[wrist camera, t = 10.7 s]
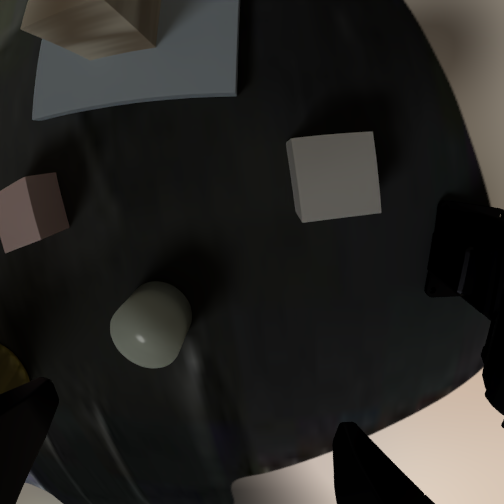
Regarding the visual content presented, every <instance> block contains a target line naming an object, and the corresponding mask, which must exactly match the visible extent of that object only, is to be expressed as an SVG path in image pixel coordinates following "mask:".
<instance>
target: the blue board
mask: <svg viewBox="0 0 504 504" xmlns="http://www.w3.org/2000/svg"><path fill="white" fill-rule="evenodd" d="M239 18H240V0H161V6H160V14H159V22H158V31H157V41H156V48H150V49H143V50H137V51H132V52H126V53H121V54H116V55H112V56H107V57H103V58H99V59H94V60H88V59H86V58H84V57H82V56H80V55H78V54H76V53H74V52H71V51H69V50H67V49H65V48H63V47H61V46H58V45H56V44H54V43H52V42H49V41H47V40H45V39H42V42H41V48H40V53H39V59H38V66H37V73H36V81H35V90H34V100H33V113H32V120H38V121H41V120H45V119H50V118H54V117H58V116H63V115H67V114H72V113H77V112H82V111H87V110H92V109H98V108H104V107H110V106H117V105H124V104H131V103H139V102H148V101H157V100H168V99H181V98H198V97H227V96H237V76H238V45H239Z"/></svg>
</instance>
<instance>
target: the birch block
mask: <svg viewBox="0 0 504 504" xmlns="http://www.w3.org/2000/svg"><path fill="white" fill-rule="evenodd" d="M160 6H161V0H28V4H27V7H26V10H25V14H24V18H23V22H22V26H21V30H23V31H26V32H28V33H30V34H33V35H35V36H38V37H40V38H42V39H45V40H47V41H49V42H52V43H54V44H56V45H58V46H61V47H63V48H65V49H67V50H69V51H71V52H74V53H76V54H78V55H80V56H82V57H84V58H86V59H88V60H94V59H99V58H103V57H107V56H112V55H116V54H121V53H126V52H132V51H137V50H143V49H150V48H156V41H157V31H158V22H159V14H160Z"/></svg>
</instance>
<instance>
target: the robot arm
mask: <svg viewBox="0 0 504 504" xmlns="http://www.w3.org/2000/svg"><path fill="white" fill-rule="evenodd" d="M445 205H446V211H445V212H444V210H443V208H444V206H445ZM500 214H501V217H500ZM427 269H428V274H427V279H426V284H425V290H424V291H425V293H426V294H427V295H428V296H429V297H450V296H461V297H462V298H463V299H464V300H466V301H467V302H468V303H469V304H470V305H472V306H473V307H474V308H475V309H476V310H478V311H479V312H481V313H482V314H483V315H485V316H486V317H487V318H488V319H489V320H490V321H491V324H490V328H489V333H488V336H487V340H486V344H485V346H484V347H483V349H482V353H481V357H482V360H483V363H484V367H483V374H482V376H483V380H484V385H485V388H486V392H485V397H486V398H487V399H488V401H489V402H490V404H491V405H492V406H493V407H494V408H495V409H496V410H498V411H499V412H500V413H501V414H502V415H504V210H503V209H500V208H494V207H488V206H481V205H474V204H467V203H460V202H453V201H445V200H443V201H441V202H439V204H438V207H437V215H436V223H435V231H434V233H433V237H432V244H431V250H430V256H429V262H428V268H427ZM432 287H433V290H432V291H430V289H431V288H432ZM58 403H59V398H58V395H57V392H56V390H55V387H54V384H53V382H52V381H51V380H50V379H47V378H44V377H39V378H37V379H35V380H32V381H30V382H28V383H25V384H23V385H21V386H19V387H16V388H14V389H11V390H9V391H7V392H4V393H2V394H0V504H16V501H17V499H18V497H19V494H20V492H21V490H22V487H23V485H24V483H25V480H26V478H27V476H28V474H29V472H30V469H31V467H32V465H33V463H34V461H35V459H36V457H37V455H38V452H39V450H40V448H41V446H42V444H43V442H44V440H45V438H46V435H47V433H48V430H49V427H50V425H51V422H52V419H53V417H54V414H55V412H56V409H57V406H58ZM501 426H502V427H503V428H504V421H503V422H502V425H501ZM333 465H334V488H335V495H336V501H337V504H435V503H434V502H433V501H431V500H430V499H429V498H428V497H427V496H426V495H424V493H423V492H422V491H421V490H420V489H419V488H418V487H417V486H416V485H415V484H414V483H413V482H412V481H411V480H410V479H409V478H408V477H407V476H406V475H405V474H404V473H403V472H402V471H401V470H400V469H399V468H398V467H397V466H396V465H395V464H394V463H393V462H392V461H391V460H390V459H389V458H388V457H387V456H386V455H385V454H384V453H383V452H382V451H381V450H380V449H379V447H377V445H376V444H374V443H373V441H372V440H371V439H370V438H369V437H368V436H367V435H366V434H365V433H364V432H363V431H362V430H361V429H360V428H359V427H358V425H357V424H356V423H354V422H342V423H340V424H339V426H338V429H337V431H336V434H335V437H334V439H333Z"/></svg>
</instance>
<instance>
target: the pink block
mask: <svg viewBox="0 0 504 504" xmlns="http://www.w3.org/2000/svg"><path fill="white" fill-rule="evenodd" d="M67 228H70V226H69V223H68V219H67V215H66V212H65V208H64V204H63V200H62V197H61V193H60V188H59V184H58V180H57V175H56V172H54V173H47V174H39V175H33V176H26V177H23V178H22V179H20V180H18V181H16V182H15V183H13V184H11V185H9V186H8V187H6V188H4V189H3V190H1V191H0V238H1V241H2V244H3V248H4V251H5V253H8V252H10V251H13V250H15V249H18V248H21V247H23V246H26V245H28V244H31V243H34V242H36V241H39V240H42V239H44V238H46V237H48V236H51V235H53V234H55V233H58V232H60V231H62V230H65V229H67Z"/></svg>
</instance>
